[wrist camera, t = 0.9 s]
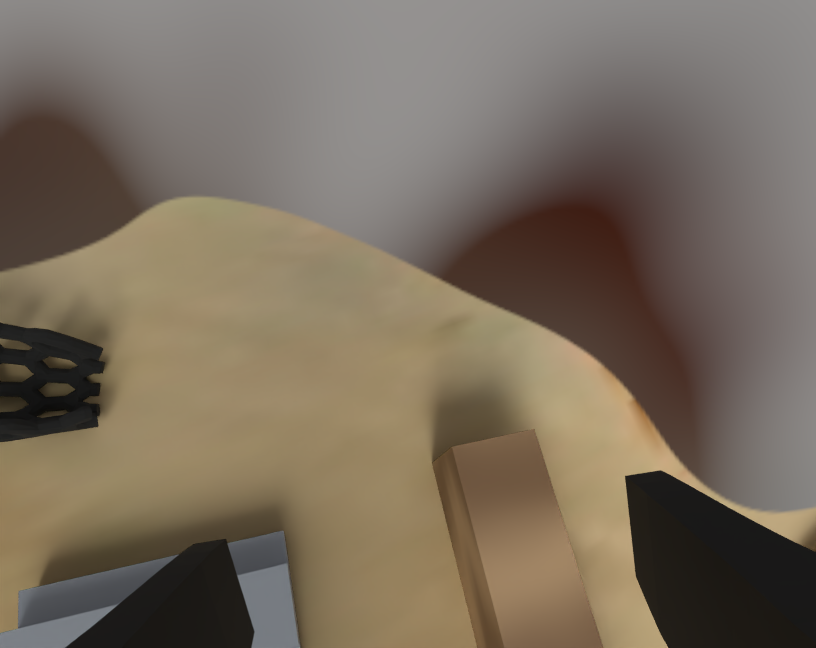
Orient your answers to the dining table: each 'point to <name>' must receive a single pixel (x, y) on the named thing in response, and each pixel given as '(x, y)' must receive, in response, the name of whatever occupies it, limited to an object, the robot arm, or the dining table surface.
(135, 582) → the fulcrum
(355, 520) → the dining table surface
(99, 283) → the dining table surface
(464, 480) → the beam
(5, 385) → the decorative element
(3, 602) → the dining table surface
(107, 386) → the dining table surface
